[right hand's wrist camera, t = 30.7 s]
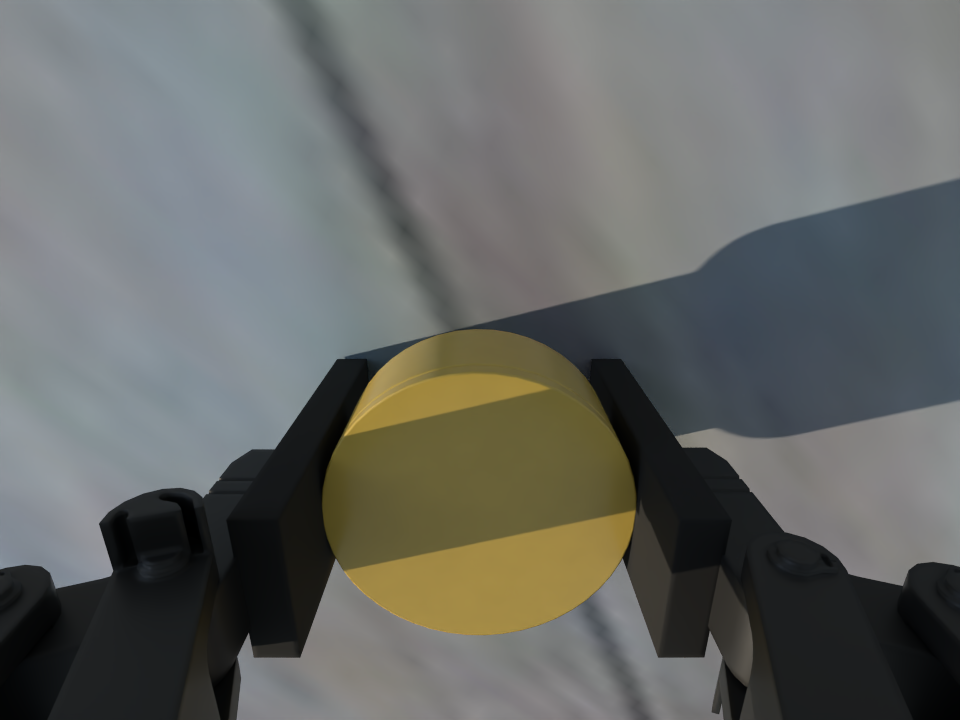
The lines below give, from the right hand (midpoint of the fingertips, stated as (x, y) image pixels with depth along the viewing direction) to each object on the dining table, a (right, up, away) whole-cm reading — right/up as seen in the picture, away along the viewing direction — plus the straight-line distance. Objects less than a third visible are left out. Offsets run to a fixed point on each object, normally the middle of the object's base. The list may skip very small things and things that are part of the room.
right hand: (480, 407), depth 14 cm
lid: (0, -2, -4) cm, 4 cm away
